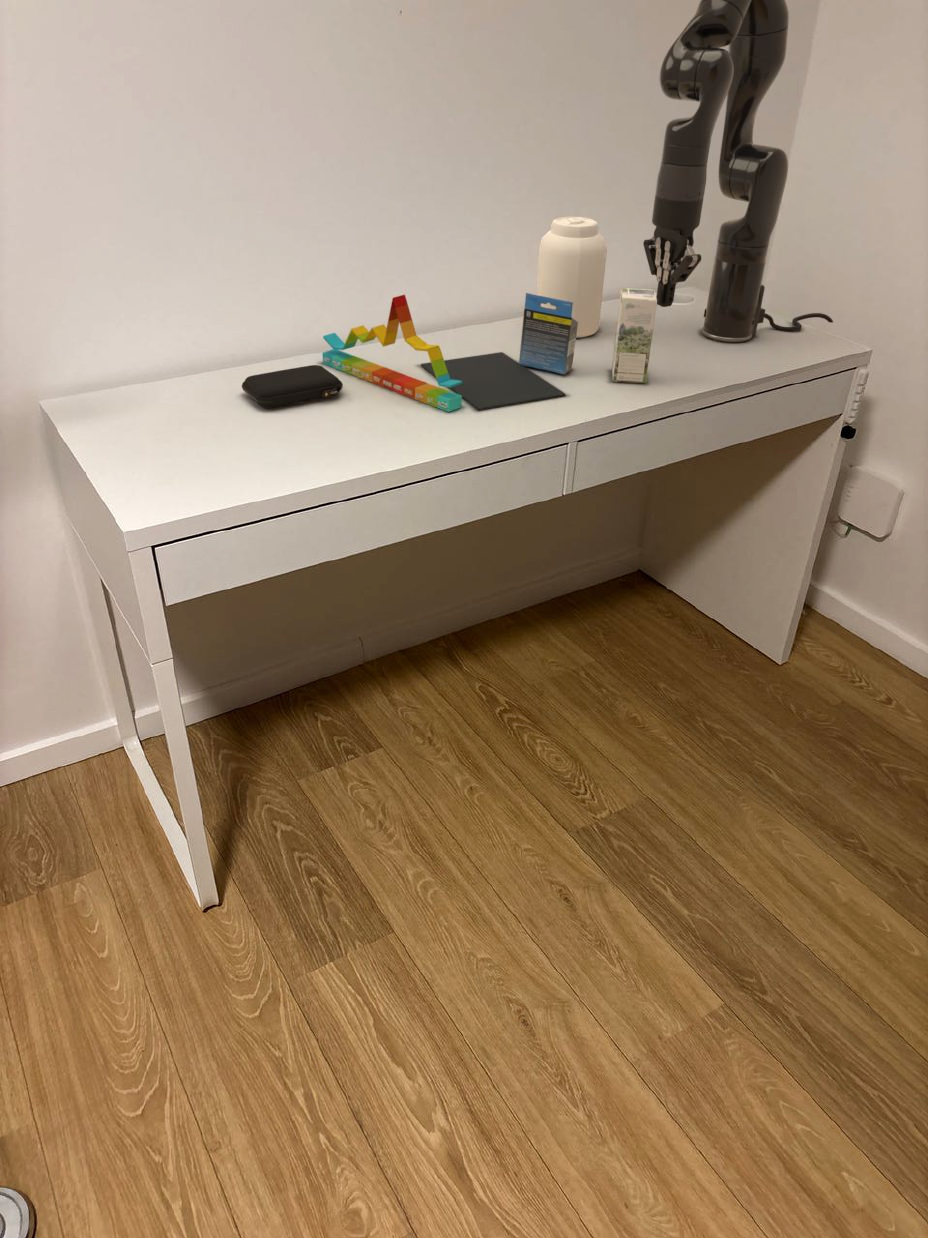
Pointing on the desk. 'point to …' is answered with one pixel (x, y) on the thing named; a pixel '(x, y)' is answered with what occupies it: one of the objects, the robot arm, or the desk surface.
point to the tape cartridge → (548, 335)
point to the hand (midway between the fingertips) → (663, 305)
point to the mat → (496, 381)
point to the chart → (390, 377)
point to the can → (574, 269)
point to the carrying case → (292, 386)
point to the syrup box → (634, 335)
